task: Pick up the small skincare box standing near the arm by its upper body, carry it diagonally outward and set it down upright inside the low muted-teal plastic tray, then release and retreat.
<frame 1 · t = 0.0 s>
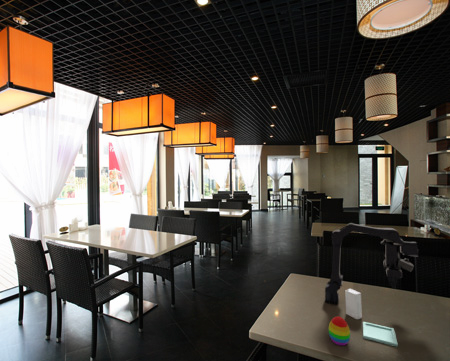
hand: (392, 284, 125), 15 cm above the table, fingers open, 9 cm apart
skincare box: (353, 316, 123), on the table
tray: (379, 334, 108), on the table
decorative egg: (339, 341, 103), on the table
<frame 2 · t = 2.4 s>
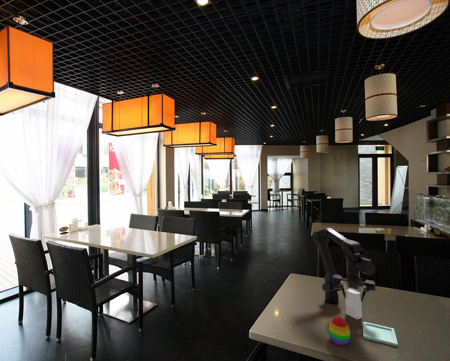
hand: (353, 299, 123), 8 cm above the table, fingers closed on skincare box, 7 cm apart
skincare box: (353, 316, 123), on the table, touching gripper
everything else where it was.
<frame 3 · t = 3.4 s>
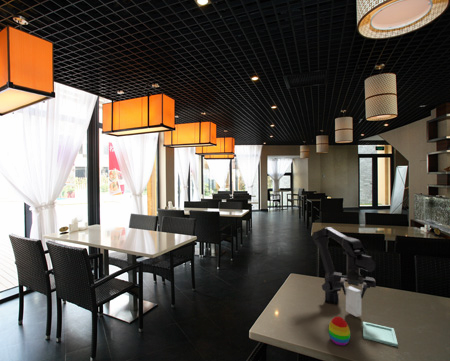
hand: (353, 296, 123), 10 cm above the table, fingers closed on skincare box, 7 cm apart
skincare box: (352, 313, 123), point 1 cm above the table, touching gripper
everything else where it was.
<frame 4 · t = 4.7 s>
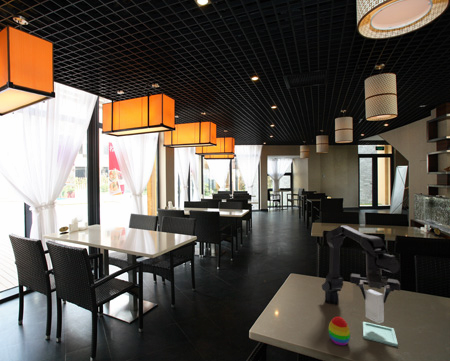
hand: (374, 301, 110), 13 cm above the table, fingers closed on skincare box, 7 cm apart
skincare box: (374, 319, 110), point 5 cm above the table, touching gripper
everything else where it was.
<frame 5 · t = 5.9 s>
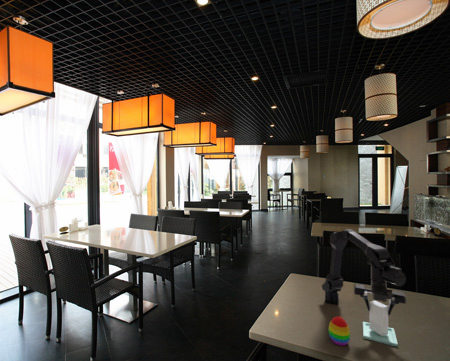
hand: (378, 312, 108), 9 cm above the table, fingers closed on skincare box, 7 cm apart
skincare box: (378, 331, 108), point 1 cm above the table, touching gripper
everything else where it was.
when the fingers open (9 cm above the table, at t = 6.7 s): skincare box stays where it is, resting on tray.
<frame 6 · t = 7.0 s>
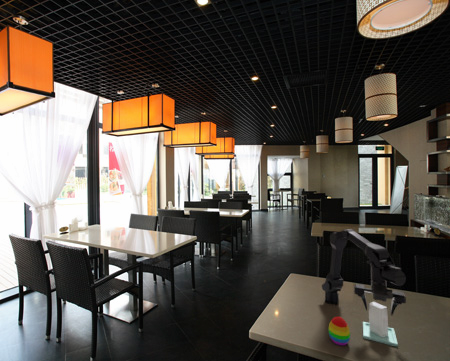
hand: (378, 312, 108), 9 cm above the table, fingers open, 9 cm apart
skincare box: (378, 333, 108), resting on tray
everything else where it was.
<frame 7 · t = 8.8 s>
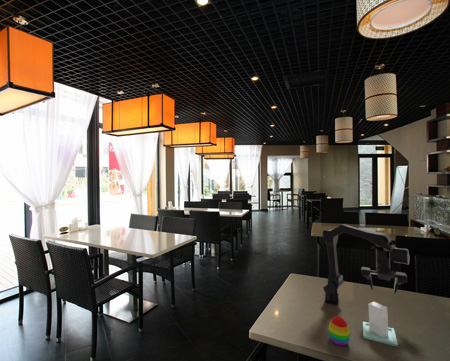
hand: (383, 291, 121), 13 cm above the table, fingers open, 9 cm apart
nothing on the table moved.
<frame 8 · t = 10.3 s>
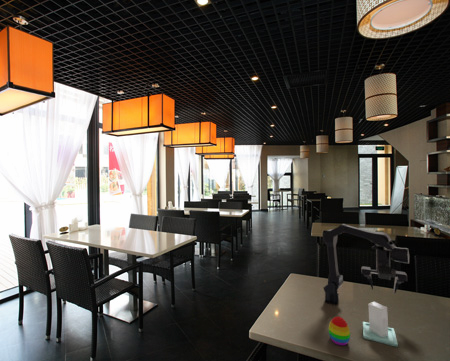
hand: (383, 291, 122), 13 cm above the table, fingers open, 9 cm apart
nothing on the table moved.
at the end: skincare box inside the target area on the tray (0.3 cm from its centre), point 0.4 cm above the tray's base; skincare box tilted 0°; the gripper is holding nothing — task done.
